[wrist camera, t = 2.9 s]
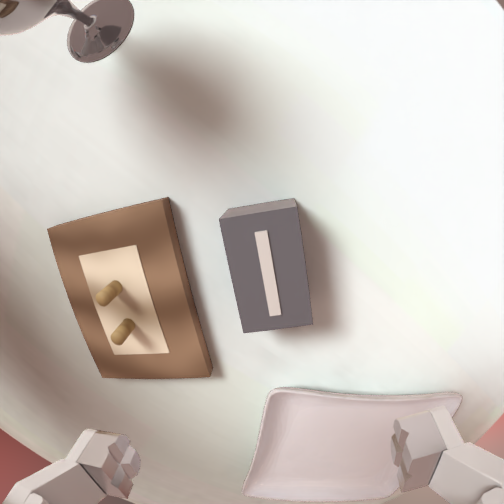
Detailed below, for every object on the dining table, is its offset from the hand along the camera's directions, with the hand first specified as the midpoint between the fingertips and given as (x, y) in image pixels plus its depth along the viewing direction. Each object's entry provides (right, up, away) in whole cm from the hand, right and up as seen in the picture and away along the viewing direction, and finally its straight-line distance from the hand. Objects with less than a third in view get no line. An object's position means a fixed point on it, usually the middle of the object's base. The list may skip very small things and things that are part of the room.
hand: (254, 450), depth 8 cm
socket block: (+1, +5, +17) cm, 18 cm away
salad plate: (+11, -16, +24) cm, 31 cm away
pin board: (-11, +2, +19) cm, 22 cm away
